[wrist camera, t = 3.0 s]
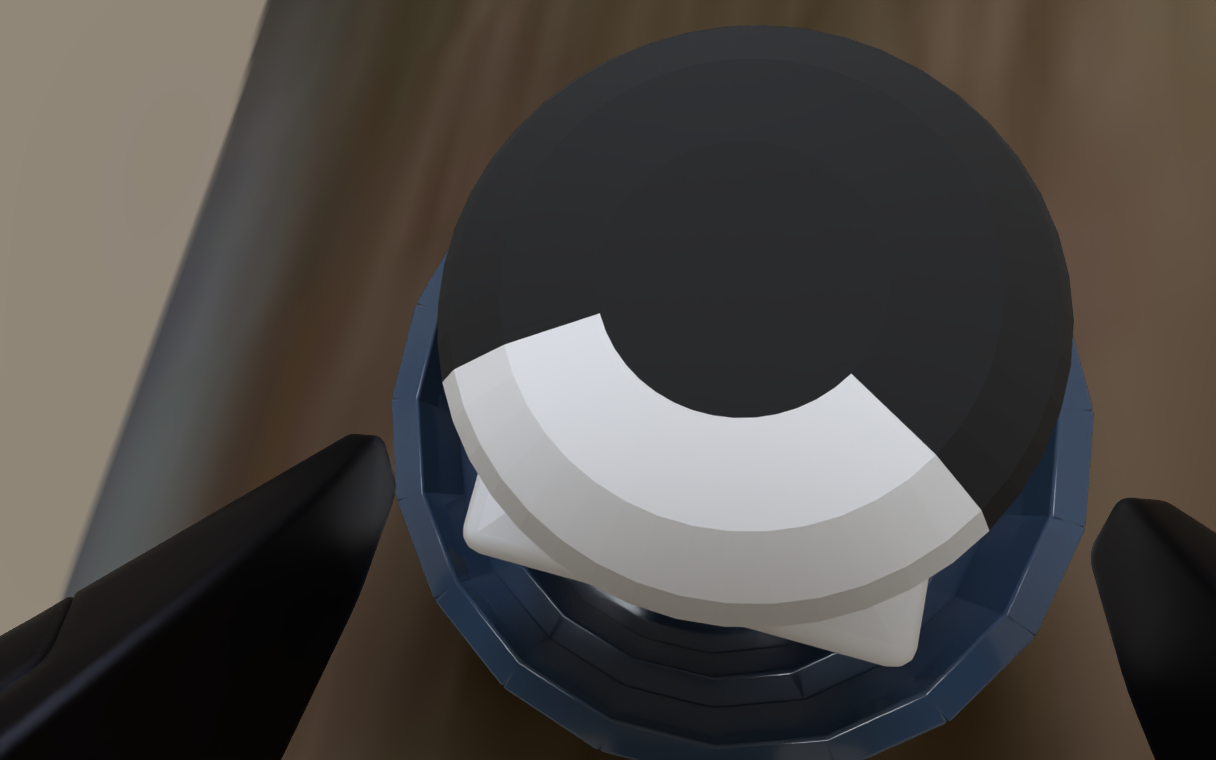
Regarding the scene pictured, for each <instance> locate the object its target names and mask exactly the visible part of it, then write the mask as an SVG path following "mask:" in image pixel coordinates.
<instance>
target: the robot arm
mask: <svg viewBox="0 0 1216 760" xmlns="http://www.w3.org/2000/svg"><path fill="white" fill-rule="evenodd" d="M395 490H396V484H395V478H394V474H393V471H392V467H391V464H390V461H389V457H388V454H387V450H386V447H385V444H384V442H383V440H382V439H381V438H380V437H378V436H374V435H362V434H350V435H348V436H346V437H344V438H342V439H340V440H338V441H337V442H335V443H333V444H332V445H330V446H328V447H326V448H325V449H323V450H321V451H320V452H318V453H316V454H314V455H313V456H311V457H309V458H307V459H306V460H304V461H302V462H301V463H299V464H297V465H295V466H294V467H292V468H290V469H289V470H287V471H285V472H283V473H282V474H280V475H278V476H276V477H275V478H273V479H271V480H270V481H268V482H266V483H264V484H263V485H261V486H259V487H258V488H256V489H254V490H252V491H251V492H249V493H247V494H245V495H244V496H242V497H240V498H239V499H237V500H235V501H233V502H232V503H230V504H228V505H226V506H225V507H223V508H221V509H220V510H218V511H216V512H214V513H213V514H211V515H209V516H207V517H206V518H204V519H202V520H201V521H199V522H197V523H195V524H194V525H192V526H190V527H189V528H187V529H185V530H183V531H182V532H180V533H178V534H176V535H175V536H173V537H171V538H170V539H168V540H166V541H164V542H163V543H161V544H159V545H157V546H156V547H154V548H152V549H151V550H149V551H147V552H145V553H144V554H142V555H140V556H138V557H137V558H135V559H133V560H132V561H130V562H128V563H126V564H125V565H123V566H121V567H120V568H118V569H116V570H114V571H113V572H111V573H109V574H107V575H106V576H104V577H102V578H101V579H99V580H97V581H95V582H94V583H92V584H90V585H88V586H87V587H85V588H83V589H82V590H80V591H78V592H77V593H76V594H75V596H74V598H73V597H68V598H66V599H64V600H62V601H61V602H59V603H57V604H55V605H54V606H52V607H50V608H49V609H47V610H45V611H44V612H42V613H40V614H38V615H37V616H35V617H33V618H32V619H30V620H28V621H26V622H25V623H23V624H21V625H19V626H17V627H15V628H14V629H12V630H10V631H8V632H7V633H5V634H3V635H1V636H0V760H281V759H282V757H283V755H284V753H285V751H286V748H287V746H288V744H289V742H290V740H291V738H292V736H293V734H294V732H295V730H296V728H297V726H298V723H299V721H300V719H301V717H302V715H303V713H304V711H305V709H306V707H307V705H308V703H309V701H310V699H311V696H312V694H313V692H314V690H315V688H316V686H317V684H318V682H319V680H320V678H321V676H322V674H323V671H324V669H325V667H326V665H327V663H328V661H329V659H330V657H331V655H332V653H333V651H334V649H335V646H336V644H337V642H338V640H339V638H340V636H341V634H342V632H343V630H344V628H345V626H346V624H347V622H348V619H349V617H350V615H351V613H352V611H353V609H354V606H355V604H356V602H357V600H358V597H359V595H360V592H361V590H362V587H363V585H364V582H365V579H366V576H367V574H368V571H369V568H370V565H371V562H372V559H373V557H374V554H375V551H376V548H377V545H378V542H379V540H380V537H381V534H382V531H383V528H384V525H385V523H386V520H387V517H388V514H389V511H390V508H391V506H392V503H393V500H394V496H395ZM1091 565H1092V569H1093V573H1094V576H1095V580H1096V583H1097V587H1098V590H1099V594H1100V598H1101V601H1102V605H1103V608H1104V612H1105V615H1106V619H1107V622H1108V626H1109V629H1110V633H1111V636H1112V640H1113V643H1114V647H1115V650H1116V654H1117V657H1118V661H1119V664H1120V668H1121V671H1122V674H1123V678H1124V681H1125V684H1126V687H1127V690H1128V693H1129V696H1130V698H1131V701H1132V703H1133V706H1134V709H1135V711H1136V714H1137V716H1138V719H1139V721H1140V724H1141V726H1142V729H1143V731H1144V733H1145V736H1146V738H1147V741H1148V743H1149V746H1150V748H1151V751H1152V753H1153V755H1154V758H1155V760H1216V533H1215V532H1213V531H1212V530H1210V529H1209V528H1207V527H1206V526H1204V525H1203V524H1201V523H1199V522H1198V521H1196V520H1195V519H1193V518H1192V517H1190V516H1189V515H1187V514H1186V513H1184V512H1182V511H1181V510H1179V509H1178V508H1176V507H1175V506H1173V505H1171V504H1170V503H1168V502H1165V501H1161V500H1152V499H1139V498H1125V499H1122V500H1121V501H1119V502H1118V503H1117V504H1116V505H1115V507H1114V508H1113V510H1112V512H1111V514H1110V515H1109V517H1108V519H1107V521H1106V523H1105V524H1104V526H1103V528H1102V530H1101V531H1100V533H1099V535H1098V537H1097V539H1096V540H1095V542H1094V544H1093V547H1092V551H1091Z"/></svg>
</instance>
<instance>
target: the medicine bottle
mask: <svg viewBox="0 0 1216 760" xmlns="http://www.w3.org/2000/svg"><path fill="white" fill-rule="evenodd" d="M1073 323H1074V319H1073V309H1072V299H1071V289H1070V279H1069V273H1068V270H1067V266H1066V262H1065V258H1064V254H1063V250H1062V247H1061V243H1060V239H1059V235H1058V232H1057V230H1056V227H1055V225H1054V223H1053V221H1052V218H1051V216H1050V214H1049V211H1048V209H1047V207H1046V204H1045V202H1044V200H1043V197H1042V195H1041V193H1040V191H1039V190H1038V188H1037V186H1036V185H1035V183H1034V182H1033V180H1032V178H1031V177H1030V175H1029V174H1028V172H1027V170H1026V169H1025V167H1024V166H1023V164H1022V162H1021V161H1020V159H1019V157H1018V156H1017V155H1016V154H1015V152H1014V151H1013V150H1012V149H1011V148H1010V146H1009V145H1008V144H1007V143H1006V142H1005V141H1004V139H1003V138H1002V137H1001V136H1000V135H999V133H998V132H997V131H996V130H995V129H994V127H993V126H992V125H991V124H990V123H989V122H988V121H987V120H986V119H985V118H983V117H982V116H981V115H980V114H979V113H978V112H977V111H976V110H975V109H973V108H972V107H971V106H970V105H969V104H968V103H967V102H966V101H965V100H963V99H962V98H961V97H960V96H959V95H958V94H956V93H955V92H953V91H952V90H950V89H949V88H947V87H946V86H944V85H943V84H941V83H940V82H939V81H937V80H936V79H934V78H933V77H931V76H930V75H928V74H927V73H925V72H924V71H922V70H920V69H918V68H916V67H914V66H912V65H910V64H908V63H906V62H904V61H902V60H900V59H898V58H896V57H894V56H892V55H890V54H888V53H886V52H884V51H882V50H879V49H877V48H874V47H871V46H868V45H865V44H862V43H859V42H857V41H854V40H851V39H848V38H845V37H841V36H836V35H832V34H827V33H822V32H818V31H813V30H808V29H801V28H790V27H779V26H767V25H761V26H732V27H721V28H715V29H708V30H702V31H695V32H689V33H685V34H681V35H678V36H674V37H671V38H667V39H663V40H660V41H656V42H653V43H649V44H646V45H644V46H642V47H639V48H637V49H634V50H632V51H630V52H627V53H625V54H622V55H620V56H618V57H615V58H613V59H610V60H608V61H607V62H605V63H603V64H601V65H600V66H598V67H596V68H594V69H592V70H591V71H589V72H587V73H585V74H584V75H582V76H580V77H578V78H577V79H575V80H574V81H572V82H571V83H570V84H568V85H567V86H565V87H564V88H563V89H561V90H560V91H559V92H557V93H556V94H555V95H553V96H552V97H551V98H549V99H548V100H547V101H545V102H544V103H543V104H542V105H541V106H540V107H539V108H538V109H537V110H536V111H534V112H533V113H532V114H531V115H530V116H529V117H528V118H527V119H526V120H525V121H524V122H523V123H522V124H521V125H520V126H519V127H518V128H517V129H516V130H515V131H514V132H513V133H512V135H511V136H510V137H509V138H508V140H507V141H506V142H505V143H504V144H503V146H502V147H501V148H500V149H499V151H498V152H497V153H496V154H495V156H494V157H493V158H492V159H491V161H490V162H489V164H488V166H487V167H486V169H485V170H484V172H483V174H482V175H481V177H480V179H479V180H478V182H477V183H476V185H475V187H474V188H473V190H472V191H471V193H470V196H469V198H468V200H467V202H466V205H465V207H464V209H463V211H462V213H461V216H460V218H459V220H458V222H457V225H456V227H455V230H454V233H453V236H452V240H451V243H450V246H449V250H448V253H447V257H446V260H445V263H444V268H443V275H442V281H441V288H440V294H439V301H438V339H437V343H438V351H439V359H440V367H441V375H442V383H443V387H444V390H445V394H446V398H447V401H448V405H449V409H450V412H451V416H452V420H453V423H454V425H455V427H456V430H457V432H458V434H459V437H460V439H461V441H462V444H463V446H464V448H465V451H466V453H467V455H468V458H469V460H470V462H471V463H472V465H473V466H474V468H475V470H476V471H477V473H478V475H477V479H476V482H475V486H474V490H473V493H472V497H471V501H470V504H469V508H468V511H467V515H466V519H465V522H464V526H463V537H464V539H465V541H466V543H467V545H468V546H469V547H470V548H471V549H473V550H475V551H476V552H478V553H479V554H483V555H486V556H490V557H494V558H497V559H501V560H504V561H508V562H512V563H515V564H519V565H522V566H526V567H530V568H533V569H537V570H540V571H544V572H548V573H551V574H555V575H558V576H562V577H566V578H569V579H573V580H576V581H580V582H584V583H587V584H590V585H592V586H594V587H596V588H598V589H600V590H602V591H605V592H607V593H609V594H611V595H613V596H615V597H617V598H619V599H621V600H623V601H625V602H627V603H629V604H632V605H635V606H638V607H641V608H644V609H647V610H650V611H653V612H657V613H660V614H663V615H666V616H669V617H672V618H675V619H681V620H687V621H693V622H699V623H705V624H711V625H717V626H723V627H745V628H749V629H753V630H756V631H760V632H763V633H767V634H771V635H774V636H778V637H781V638H785V639H789V640H792V641H796V642H799V643H803V644H807V645H810V646H814V647H817V648H821V649H825V650H828V651H832V652H835V653H839V654H843V655H846V656H850V657H853V658H857V659H861V660H864V661H868V662H871V663H875V664H879V665H882V666H888V667H900V666H903V665H905V664H906V663H908V662H909V661H911V660H912V659H913V657H914V655H915V653H916V650H917V647H918V641H919V634H920V628H921V622H922V616H923V610H924V604H925V598H926V592H927V586H928V580H929V578H930V577H931V576H933V575H935V574H936V573H938V572H939V571H941V570H942V569H944V568H946V567H947V566H949V565H950V564H952V563H953V562H954V561H956V560H957V559H958V558H959V557H960V556H961V555H962V554H964V553H965V552H966V551H967V550H968V549H969V548H970V547H971V546H973V545H974V544H975V543H976V542H977V541H978V540H979V539H981V538H982V537H983V536H984V535H985V534H986V533H987V532H989V531H990V529H991V528H992V527H993V526H994V525H995V523H996V522H997V521H998V520H999V519H1000V517H1001V516H1002V515H1003V514H1004V513H1005V511H1006V510H1007V509H1008V508H1009V507H1010V505H1011V504H1012V503H1013V502H1014V501H1015V499H1016V498H1017V497H1018V496H1019V495H1020V493H1021V491H1022V490H1023V488H1024V486H1025V485H1026V483H1027V481H1028V480H1029V478H1030V476H1031V475H1032V473H1033V471H1034V470H1035V468H1036V466H1037V465H1038V463H1039V461H1040V460H1041V458H1042V456H1043V454H1044V452H1045V450H1046V447H1047V445H1048V442H1049V440H1050V437H1051V435H1052V432H1053V430H1054V427H1055V425H1056V422H1057V420H1058V417H1059V415H1060V412H1061V409H1062V404H1063V400H1064V395H1065V391H1066V386H1067V382H1068V377H1069V373H1070V368H1071V357H1072V340H1073Z"/></svg>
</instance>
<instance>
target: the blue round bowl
mask: <svg viewBox="0 0 1216 760" xmlns="http://www.w3.org/2000/svg"><path fill="white" fill-rule="evenodd" d="M447 253H448V251H447ZM447 253H446V255H445V256H444V258H443V260H442V261H441V263H440V265H439V266H438V268H437V270H436V271H435V273H434V275H433V276H432V278H431V280H430V281H429V283H428V285H427V286H426V288H425V290H424V291H423V293H422V295H421V296H420V298H419V300H418V302H417V304H418V305H416V306H415V310H414V313H413V317H412V321H411V325H410V329H409V333H408V337H407V341H406V345H405V349H404V353H403V357H402V361H401V365H400V369H399V373H398V377H397V381H396V385H395V389H394V393H393V399H394V400H392V416H393V435H394V455H395V474H396V493H397V500H399V501H398V504H399V507H400V510H401V512H402V515H403V518H404V521H405V523H406V526H407V529H408V531H409V534H410V537H411V539H412V542H413V545H414V547H415V550H416V553H417V555H418V558H419V561H420V564H421V566H422V569H423V572H424V574H425V577H426V580H427V582H428V585H429V588H430V590H431V593H432V596H433V598H434V599H436V603H437V604H438V606H439V607H440V608H441V610H442V611H443V612H444V613H445V615H446V616H447V617H448V618H449V620H450V621H451V622H452V623H453V625H454V626H455V627H456V629H457V630H458V631H459V632H460V634H461V635H462V636H463V637H464V639H465V640H466V641H467V643H468V644H469V645H470V646H471V648H472V649H473V650H474V651H475V653H476V654H477V655H478V657H479V658H480V659H481V660H482V662H483V663H484V664H485V665H486V667H487V668H488V669H489V671H490V672H491V673H492V674H493V676H494V677H495V678H496V679H497V681H498V682H499V683H500V684H501V685H502V686H503V685H504V688H505V689H506V690H507V691H509V692H510V693H512V694H513V695H515V696H516V697H518V698H519V699H521V700H522V701H524V702H525V703H527V704H528V705H530V706H531V707H533V708H534V709H536V710H537V711H539V712H540V713H542V714H543V715H545V716H546V717H548V718H549V719H551V720H552V721H554V722H555V723H557V724H558V725H560V726H561V727H563V728H564V729H566V730H567V731H569V732H570V733H572V734H573V735H575V736H576V737H578V738H579V739H581V740H582V741H584V742H585V743H587V744H588V745H590V746H591V747H593V748H594V749H596V750H599V749H600V750H601V751H602V752H604V753H607V754H611V755H615V756H619V757H622V758H626V759H630V760H866V759H868V758H870V757H873V756H875V755H877V754H879V753H881V752H884V751H886V750H888V749H890V748H893V747H895V746H897V745H899V744H901V743H904V742H906V741H908V740H910V739H913V738H915V737H917V736H919V735H921V734H924V733H926V732H928V731H930V730H933V729H935V728H937V727H939V726H941V725H944V724H945V723H946V720H947V721H951V720H952V719H953V718H954V717H955V716H956V715H957V714H958V713H959V712H960V711H961V710H962V709H963V708H964V707H965V706H966V705H967V704H968V703H969V702H970V701H971V700H972V699H973V698H974V697H975V696H976V695H977V694H978V693H979V692H980V691H981V690H982V689H983V688H984V687H985V686H986V685H988V684H989V683H990V682H991V681H992V680H993V679H994V678H995V677H996V676H997V675H998V674H999V673H1000V672H1001V671H1002V670H1003V669H1004V668H1005V667H1006V666H1007V665H1008V664H1009V663H1010V662H1011V661H1012V660H1013V659H1014V658H1015V657H1016V656H1017V655H1018V654H1019V653H1020V652H1021V651H1022V650H1023V649H1024V648H1025V647H1026V646H1027V645H1028V644H1029V643H1030V642H1031V641H1032V640H1033V639H1034V636H1036V635H1037V633H1038V631H1039V628H1040V626H1041V624H1042V622H1043V620H1044V618H1045V615H1046V613H1047V611H1048V609H1049V607H1050V604H1051V602H1052V600H1053V598H1054V596H1055V594H1056V591H1057V589H1058V587H1059V585H1060V583H1061V581H1062V578H1063V576H1064V574H1065V572H1066V570H1067V567H1068V565H1069V563H1070V561H1071V559H1072V557H1073V554H1074V552H1075V550H1076V548H1077V546H1078V544H1079V541H1080V539H1081V537H1082V535H1083V533H1084V530H1085V529H1084V528H1083V527H1085V525H1086V513H1087V500H1088V487H1089V473H1090V460H1091V447H1092V434H1093V420H1094V413H1093V412H1091V411H1092V410H1093V406H1092V403H1091V399H1090V395H1089V392H1088V388H1087V384H1086V381H1085V377H1084V373H1083V370H1082V366H1081V362H1080V359H1079V355H1078V351H1077V348H1076V344H1075V340H1074V337H1073V340H1072V357H1071V368H1070V373H1069V377H1068V382H1067V386H1066V391H1065V395H1064V400H1063V404H1062V409H1061V412H1060V415H1059V417H1058V420H1057V422H1056V425H1055V427H1054V430H1053V432H1052V435H1051V437H1050V440H1049V442H1048V445H1047V447H1046V450H1045V452H1044V454H1043V456H1042V458H1041V460H1040V461H1039V463H1038V465H1037V466H1036V468H1035V470H1034V471H1033V473H1032V475H1031V476H1030V478H1029V480H1028V481H1027V483H1026V485H1025V486H1024V488H1023V490H1022V491H1021V493H1020V495H1019V496H1018V497H1017V498H1016V499H1015V501H1014V502H1013V503H1012V504H1011V505H1010V507H1009V508H1008V509H1007V510H1006V511H1005V513H1004V514H1003V515H1002V516H1001V517H1000V519H999V520H998V521H997V522H996V523H995V525H994V526H993V527H992V528H991V529H990V531H989V532H987V533H986V534H985V535H984V536H983V537H982V538H981V539H979V540H978V541H977V542H976V543H975V544H974V545H973V546H971V547H970V548H969V549H968V550H967V551H966V552H965V553H964V554H962V555H961V556H960V557H959V558H958V559H957V560H956V561H954V562H953V563H952V564H950V565H949V566H947V567H946V568H944V569H942V570H941V571H939V572H938V573H936V574H935V575H933V576H931V577H930V578H929V580H928V586H927V592H926V598H925V604H924V610H923V616H922V622H921V628H920V634H919V641H918V647H917V650H916V653H915V655H914V657H913V659H912V660H911V661H909V662H908V663H906V664H905V665H903V666H900V667H888V666H882V665H879V664H875V663H871V662H868V661H864V660H861V659H857V658H853V657H850V656H846V655H843V654H839V653H835V652H832V651H828V650H825V649H821V648H817V647H814V646H810V645H807V644H803V643H799V642H796V641H792V640H789V639H785V638H781V637H778V636H774V635H771V634H767V633H763V632H760V631H756V630H753V629H749V628H745V627H723V626H717V625H711V624H705V623H699V622H693V621H687V620H681V619H675V618H672V617H669V616H666V615H663V614H660V613H657V612H653V611H650V610H647V609H644V608H641V607H638V606H635V605H632V604H629V603H627V602H625V601H623V600H621V599H619V598H617V597H615V596H613V595H611V594H609V593H607V592H605V591H602V590H600V589H598V588H596V587H594V586H592V585H590V584H587V583H584V582H580V581H576V580H573V579H569V578H566V577H562V576H558V575H555V574H551V573H548V572H544V571H540V570H537V569H533V568H530V567H526V566H522V565H519V564H515V563H512V562H508V561H504V560H501V559H497V558H494V557H490V556H486V555H483V554H479V553H478V552H476V551H475V550H473V549H471V548H470V547H469V546H468V545H467V543H466V541H465V539H464V537H463V526H464V522H465V519H466V515H467V511H468V508H469V504H470V501H471V497H472V493H473V490H474V486H475V482H476V479H477V475H478V473H477V471H476V470H475V468H474V466H473V465H472V463H471V462H470V460H469V458H468V455H467V453H466V451H465V448H464V446H463V444H462V441H461V439H460V437H459V434H458V432H457V430H456V427H455V425H454V423H453V420H452V416H451V412H450V409H449V405H448V401H447V398H446V394H445V390H444V387H443V383H442V375H441V367H440V359H439V351H438V343H437V339H438V301H439V294H440V288H441V281H442V275H443V268H444V263H445V260H446V257H447Z"/></svg>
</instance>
